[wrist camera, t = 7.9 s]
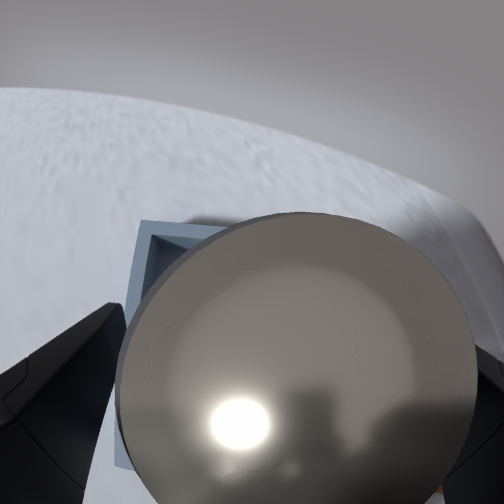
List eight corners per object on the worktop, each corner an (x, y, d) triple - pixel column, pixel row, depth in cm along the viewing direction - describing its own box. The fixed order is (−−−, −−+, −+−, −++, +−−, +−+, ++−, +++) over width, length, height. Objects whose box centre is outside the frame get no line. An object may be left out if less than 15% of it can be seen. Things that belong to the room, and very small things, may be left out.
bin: (351, 465, 16) (369, 480, 13) (130, 451, 15) (114, 465, 13) (364, 258, 20) (383, 243, 17) (153, 238, 20) (141, 219, 17)
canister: (316, 382, 17) (515, 436, 3) (229, 423, 16) (223, 607, 2) (275, 298, 18) (391, 150, 5) (187, 337, 17) (44, 291, 4)
